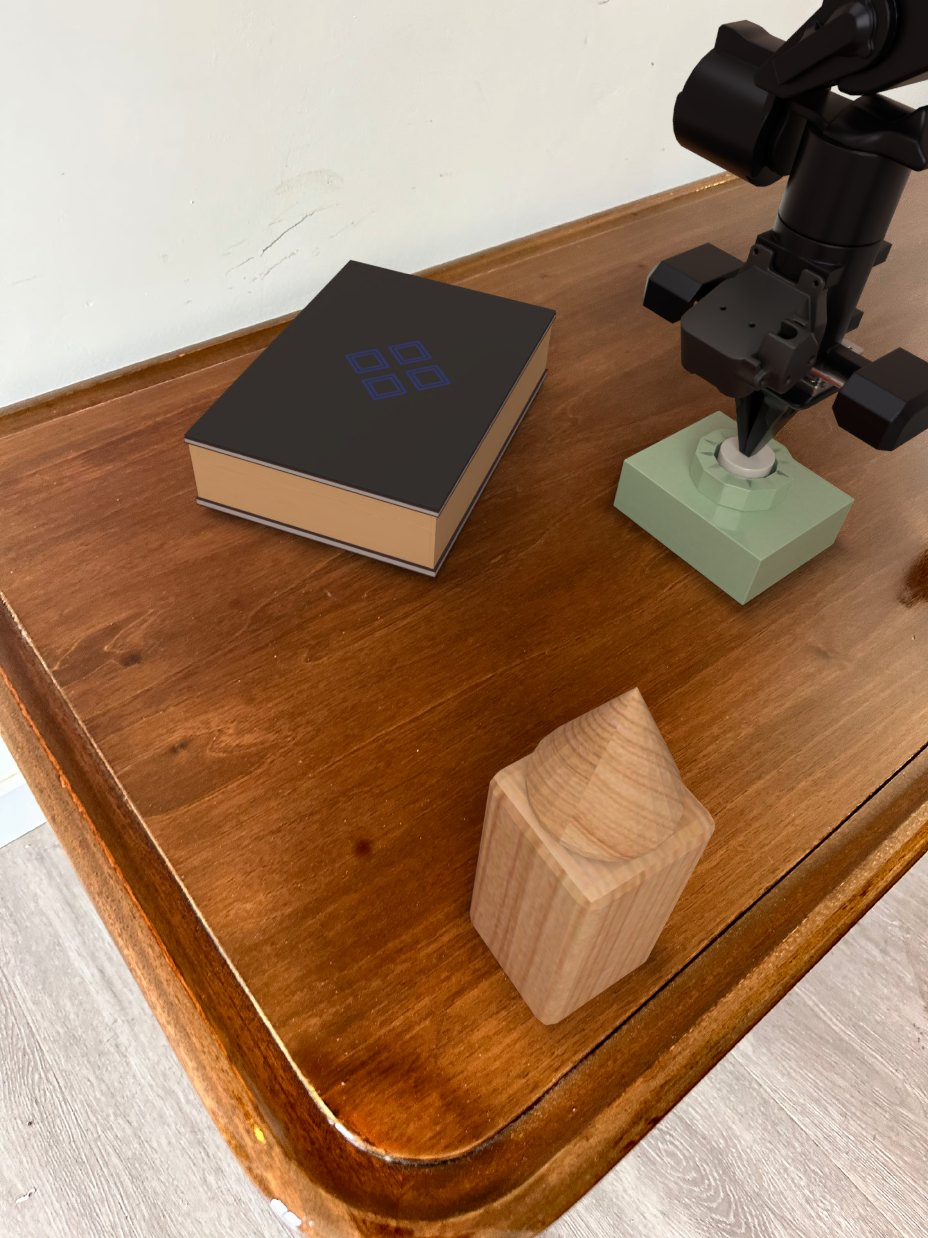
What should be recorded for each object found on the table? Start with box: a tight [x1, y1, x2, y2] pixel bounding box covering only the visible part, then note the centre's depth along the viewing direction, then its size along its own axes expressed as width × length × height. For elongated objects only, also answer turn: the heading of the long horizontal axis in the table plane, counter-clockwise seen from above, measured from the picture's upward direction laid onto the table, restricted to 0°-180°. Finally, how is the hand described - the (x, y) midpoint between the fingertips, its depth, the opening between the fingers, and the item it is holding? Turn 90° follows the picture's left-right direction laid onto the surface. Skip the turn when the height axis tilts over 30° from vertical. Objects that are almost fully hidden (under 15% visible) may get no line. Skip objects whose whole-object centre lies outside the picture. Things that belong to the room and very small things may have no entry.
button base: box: [613, 410, 855, 606], centre depth 65 cm, size 12×10×6 cm
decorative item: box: [469, 686, 716, 1026], centre depth 39 cm, size 7×7×20 cm
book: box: [182, 259, 557, 579], centre depth 69 cm, size 17×25×7 cm
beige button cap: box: [716, 436, 775, 479], centre depth 63 cm, size 4×4×2 cm
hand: (748, 452), depth 62 cm, fingers closed, pressing on beige button cap
